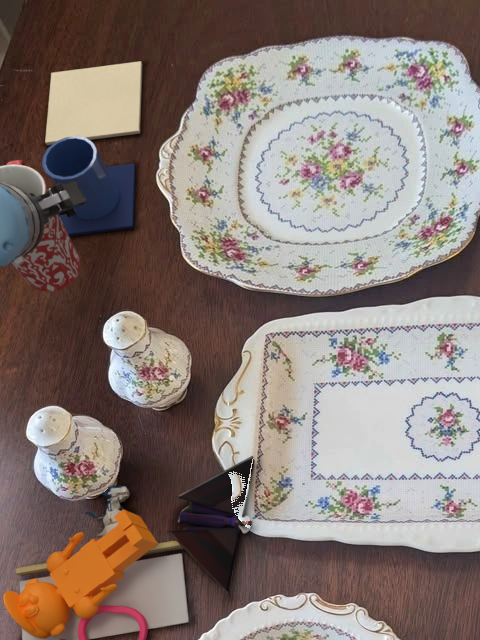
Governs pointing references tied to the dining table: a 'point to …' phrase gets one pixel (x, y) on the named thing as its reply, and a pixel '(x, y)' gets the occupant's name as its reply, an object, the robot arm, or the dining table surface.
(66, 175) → the blue cup
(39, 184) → the mug
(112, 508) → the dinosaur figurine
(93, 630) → the sign holder
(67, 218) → the navy mat
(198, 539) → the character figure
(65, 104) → the cream mat
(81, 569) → the toy
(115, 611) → the fitness band
